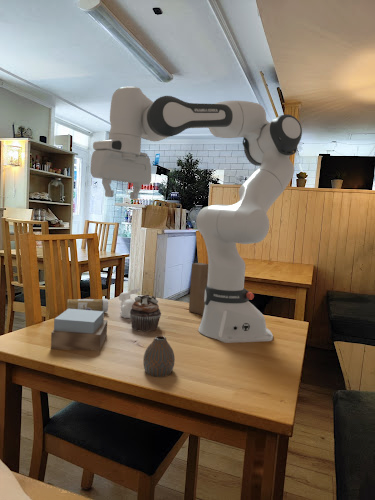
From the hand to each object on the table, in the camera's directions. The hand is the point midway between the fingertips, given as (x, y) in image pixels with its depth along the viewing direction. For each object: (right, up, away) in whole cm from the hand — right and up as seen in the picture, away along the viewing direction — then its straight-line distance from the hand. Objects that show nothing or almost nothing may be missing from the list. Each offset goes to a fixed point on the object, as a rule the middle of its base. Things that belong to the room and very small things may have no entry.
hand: (121, 198), depth 104 cm
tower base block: (-10, -40, -6) cm, 41 cm away
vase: (+12, -43, -22) cm, 49 cm away
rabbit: (-1, -37, +21) cm, 43 cm away
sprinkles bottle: (-22, -33, +20) cm, 45 cm away
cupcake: (+5, -39, +10) cm, 41 cm away
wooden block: (+24, -38, +31) cm, 55 cm away
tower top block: (-10, -35, -6) cm, 37 cm away
